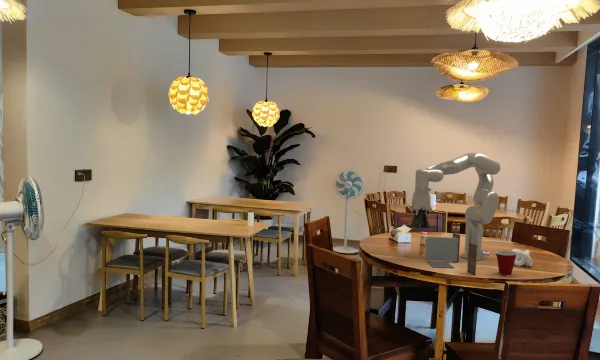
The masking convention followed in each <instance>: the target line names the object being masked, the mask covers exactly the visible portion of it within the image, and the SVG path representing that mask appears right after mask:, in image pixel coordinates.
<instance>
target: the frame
mask: <svg viewBox="0 0 600 360" xmlns="http://www.w3.org/2000/svg"><path fill="white" fill-rule="evenodd" d="M451 238H458V253H457V261H453V263H459V261H460V245H461V244H460V243H461V234H459V233H457V232H452V237H451ZM476 258H477V244H475V243H473V242H469V250H468V259H467V270H466V272H467V273H469V274H470V275H471V276H476V272H477V270H476V269H477V260H476Z"/></svg>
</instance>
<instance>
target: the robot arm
mask: <svg viewBox="0 0 600 360" xmlns="http://www.w3.org/2000/svg"><path fill="white" fill-rule="evenodd" d="M470 168H474V169H475V172H476V173H477V176H478V183H477V185H476V189H475V191H474V195H473V197H472V201H473V202H474V203H475V204H476V205H477V206H476V205H471V206H468V207H467V208H466V209H465V213H464V218H465V235H464V236H465V239H464V253H462V254H461V257H462V258H463V259H466V260H468V250H469V242H473V243H475V244H477V258H476V261H480V260H484V259H485V258H484V256H487V257H488V256H490V252H486V251H483V250H482V245H483V232H484V231H483V225H488V224H490V223H491V222H492V221H493V218H494V217H495V214H496V211H497V208H498V206H499V202H500V197H499V195H498V193H497V192H495V191H493V188H494V183H495V182H494V175H497V174H499V173H500V171H501V165H500V162H498V161H497V160H495V159H494V158H491V157H489V156H487V155H485V154H483V153H480V152H469V153H465V154H462V155H460V156H458V157H455V158H454V159H450V160H447V161H442V162H440V163H437V164H434V165H432V166H429V167H426V168H424V169H421V168H418V169H416V170H415V178H414V179H415V181H414V182H415V183H414V184H415V185H414V186H415V187H414V192H413V193H412V198H411V206H410V207H409V211H410V212H412V213H413V214H415V217H416V218H418V210H420V209H421V208H422V207H423V209H422V210H424V211H425V208H426V216H427V215H428V214H429V213H431V212H433V208H432V206H431V195H430V192H431V191H432V188H429V185H430V182H432V183H438V182H439V183H440V182H441V181H443V179H444V176H446V175H455V174H458V173H461V172H463V171H466V170H467V169H470ZM478 205H479V206H478ZM423 222H425V217H423Z"/></svg>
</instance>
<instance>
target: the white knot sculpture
mask: <svg viewBox="0 0 600 360" xmlns="http://www.w3.org/2000/svg"><path fill="white" fill-rule="evenodd" d="M511 251H514V252H517V255H516V259H515V262H514V266H515V265H516V266H515V267H522V266H523V265H524V266H526V267H528V266H530V267H531V266H533V259H532V258H531V256H530V255H531V252H530V250H529V249H526V250H524V251H522V250H520V249H518V248H513V249H512V250H511Z"/></svg>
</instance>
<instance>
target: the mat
mask: <svg viewBox="0 0 600 360" xmlns="http://www.w3.org/2000/svg"><path fill="white" fill-rule="evenodd" d="M426 263H427V264H428V265H429V266H430V267H431V268H434V269H435V268H437V269H455V267H454V266H453V265H452V264H451V263H449V261H426Z"/></svg>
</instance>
